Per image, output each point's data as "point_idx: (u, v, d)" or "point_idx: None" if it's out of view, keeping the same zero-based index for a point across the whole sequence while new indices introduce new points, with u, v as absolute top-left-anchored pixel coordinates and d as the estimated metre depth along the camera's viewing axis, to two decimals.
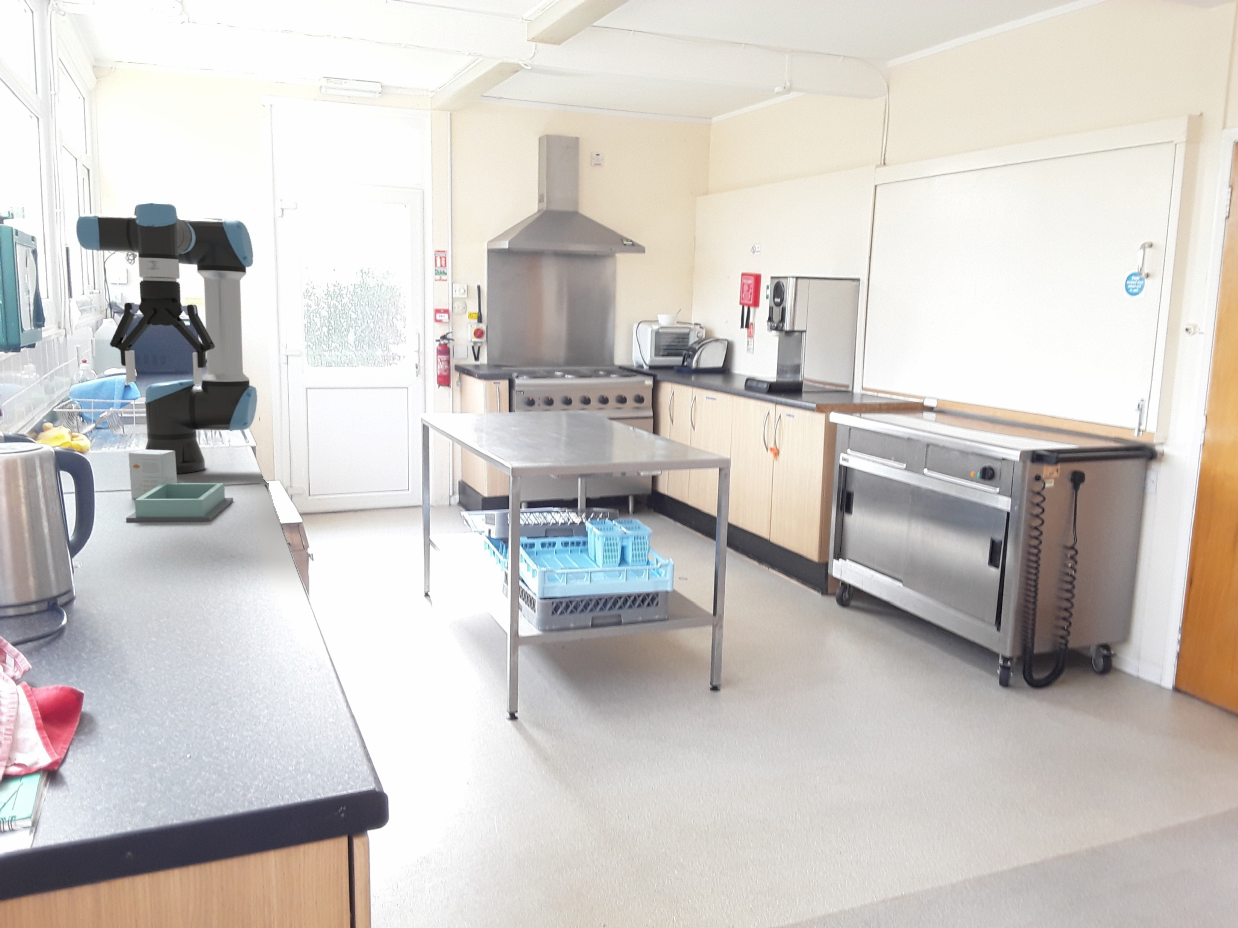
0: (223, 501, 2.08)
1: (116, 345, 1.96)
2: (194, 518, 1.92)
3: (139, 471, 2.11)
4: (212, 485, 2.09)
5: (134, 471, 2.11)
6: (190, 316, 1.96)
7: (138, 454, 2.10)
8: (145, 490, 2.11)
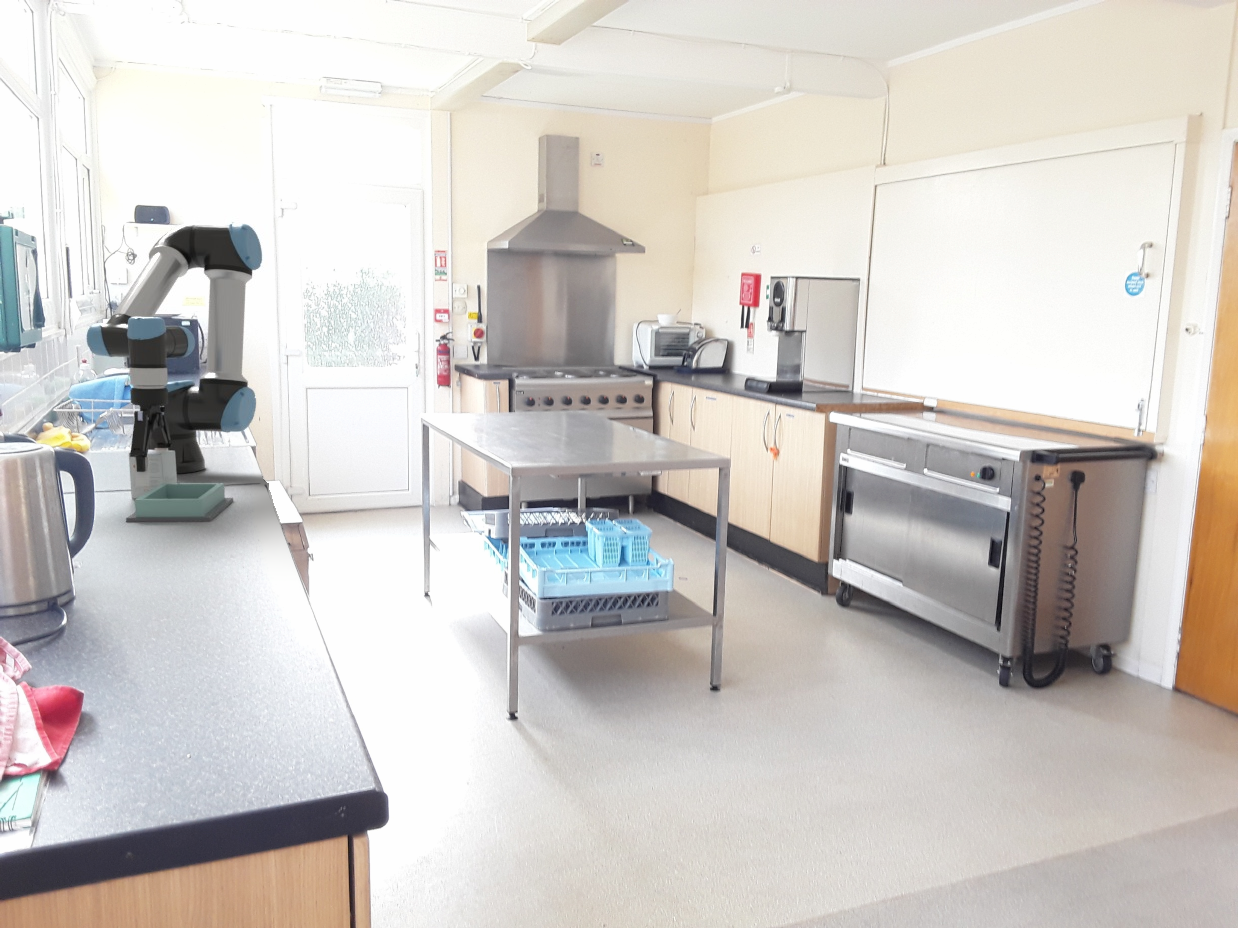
0: (223, 501, 2.08)
1: None
2: (194, 518, 1.92)
3: None
4: (212, 485, 2.09)
5: (134, 471, 2.11)
6: None
7: None
8: (145, 490, 2.11)
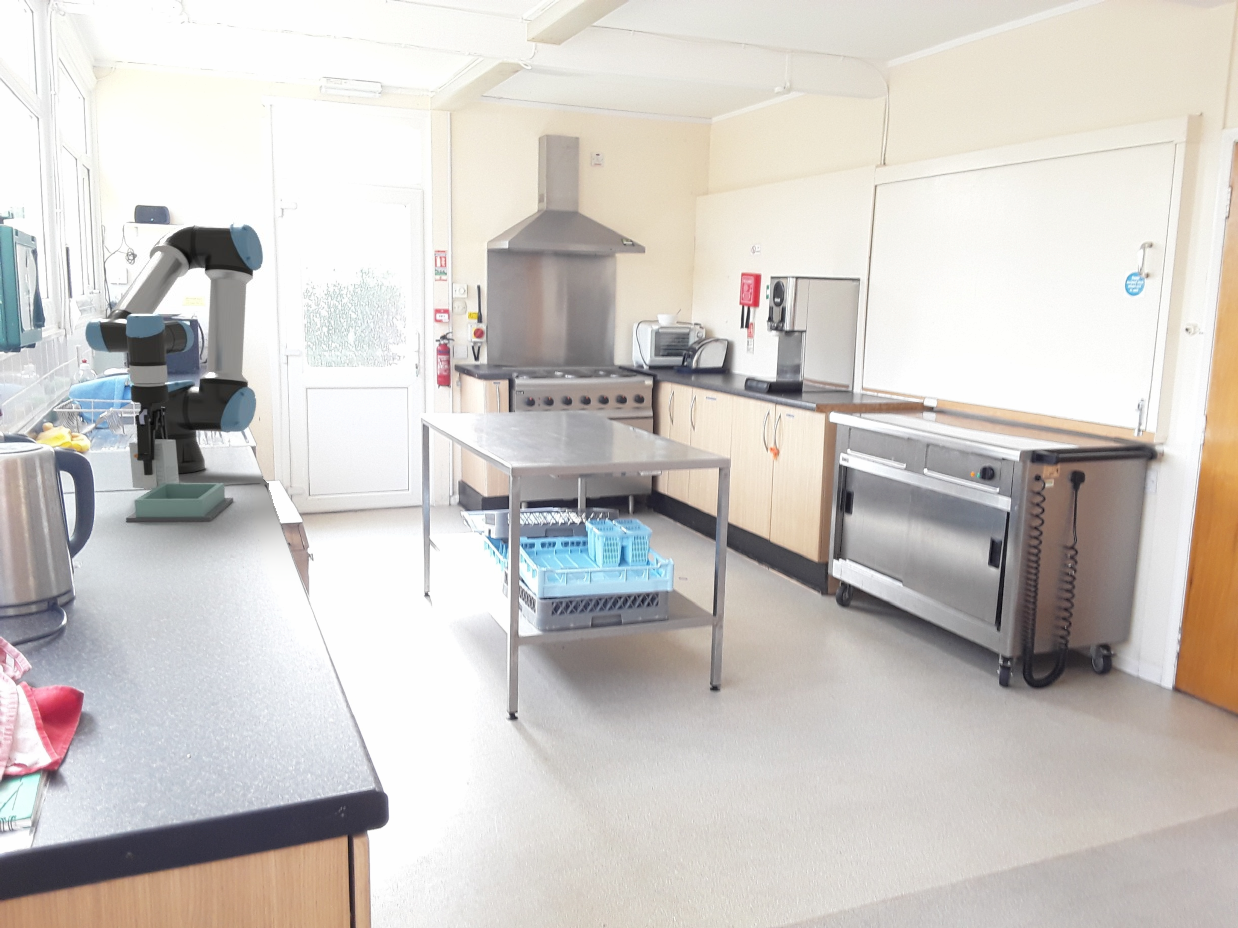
0: (223, 501, 2.08)
1: None
2: (194, 518, 1.92)
3: (140, 461, 2.11)
4: (212, 485, 2.09)
5: (135, 461, 2.11)
6: None
7: None
8: None
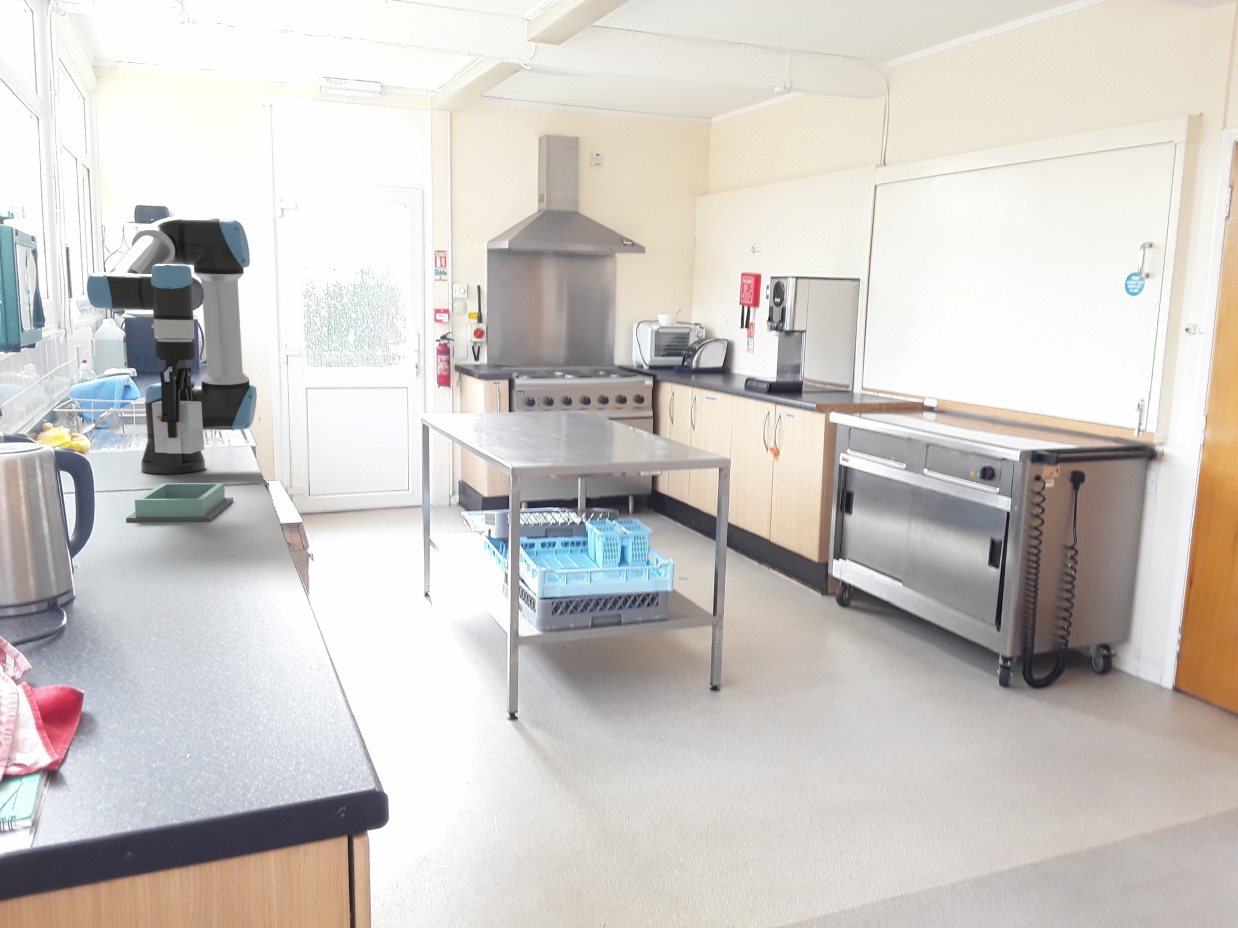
0: (223, 501, 2.08)
1: None
2: (194, 518, 1.92)
3: (163, 422, 1.96)
4: (212, 485, 2.09)
5: (158, 423, 1.96)
6: None
7: None
8: None
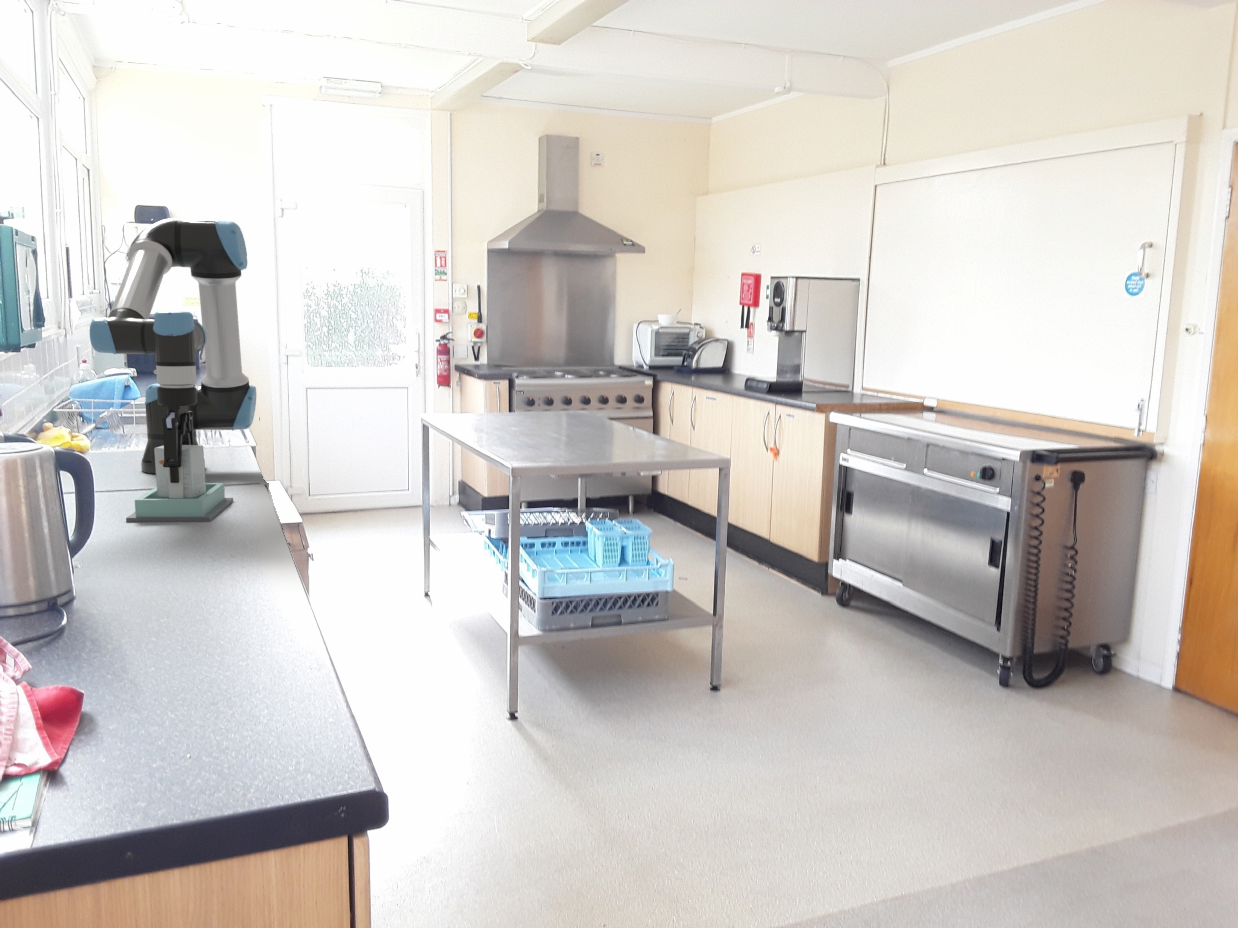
0: (223, 501, 2.08)
1: None
2: (194, 518, 1.92)
3: (165, 467, 1.97)
4: (212, 485, 2.09)
5: (160, 467, 1.97)
6: None
7: None
8: None
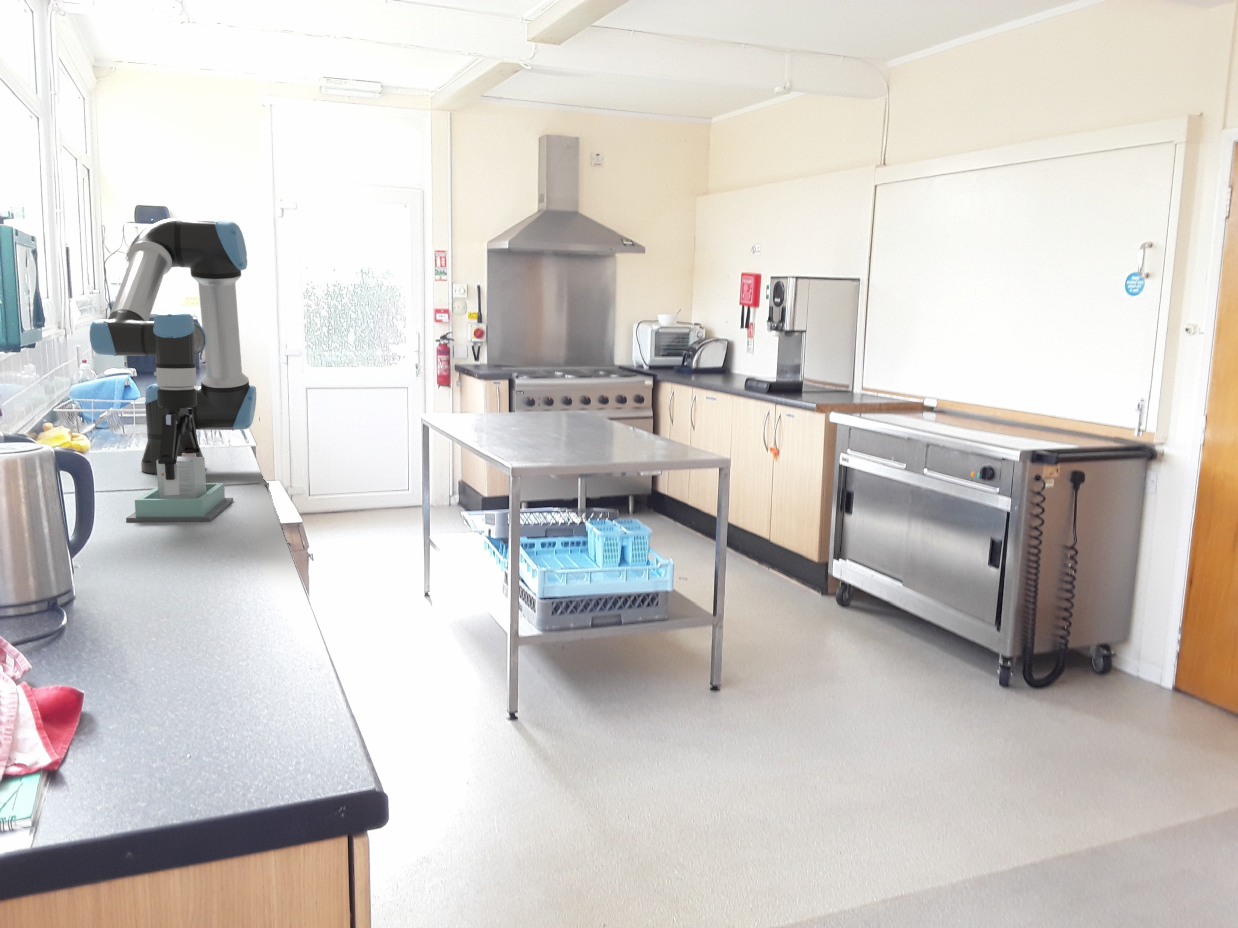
0: (223, 501, 2.08)
1: None
2: (194, 518, 1.92)
3: None
4: (212, 485, 2.09)
5: (162, 479, 1.98)
6: None
7: None
8: None
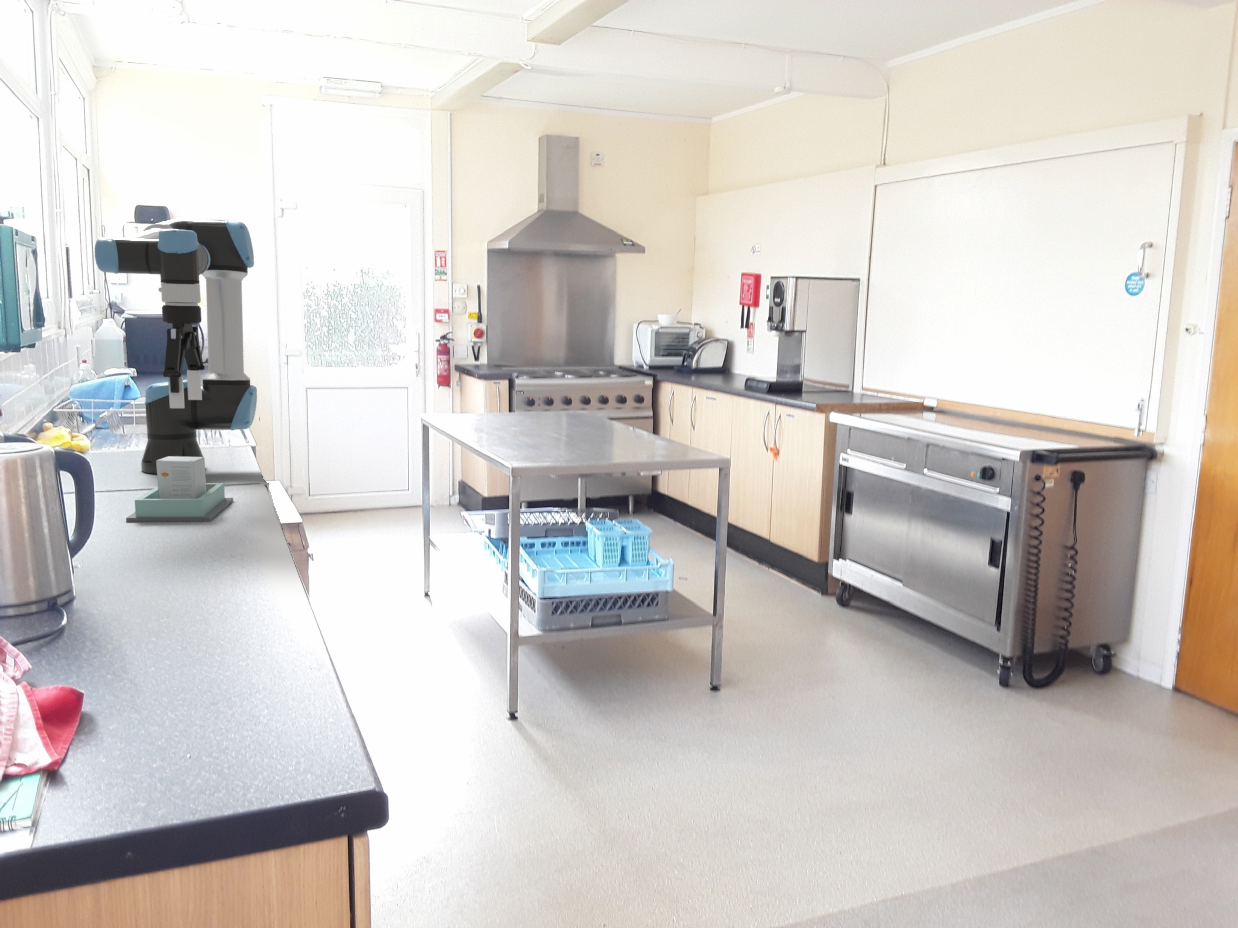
0: (223, 501, 2.08)
1: None
2: (194, 518, 1.92)
3: (168, 479, 1.98)
4: (212, 485, 2.09)
5: (162, 479, 1.98)
6: None
7: (167, 461, 1.97)
8: None
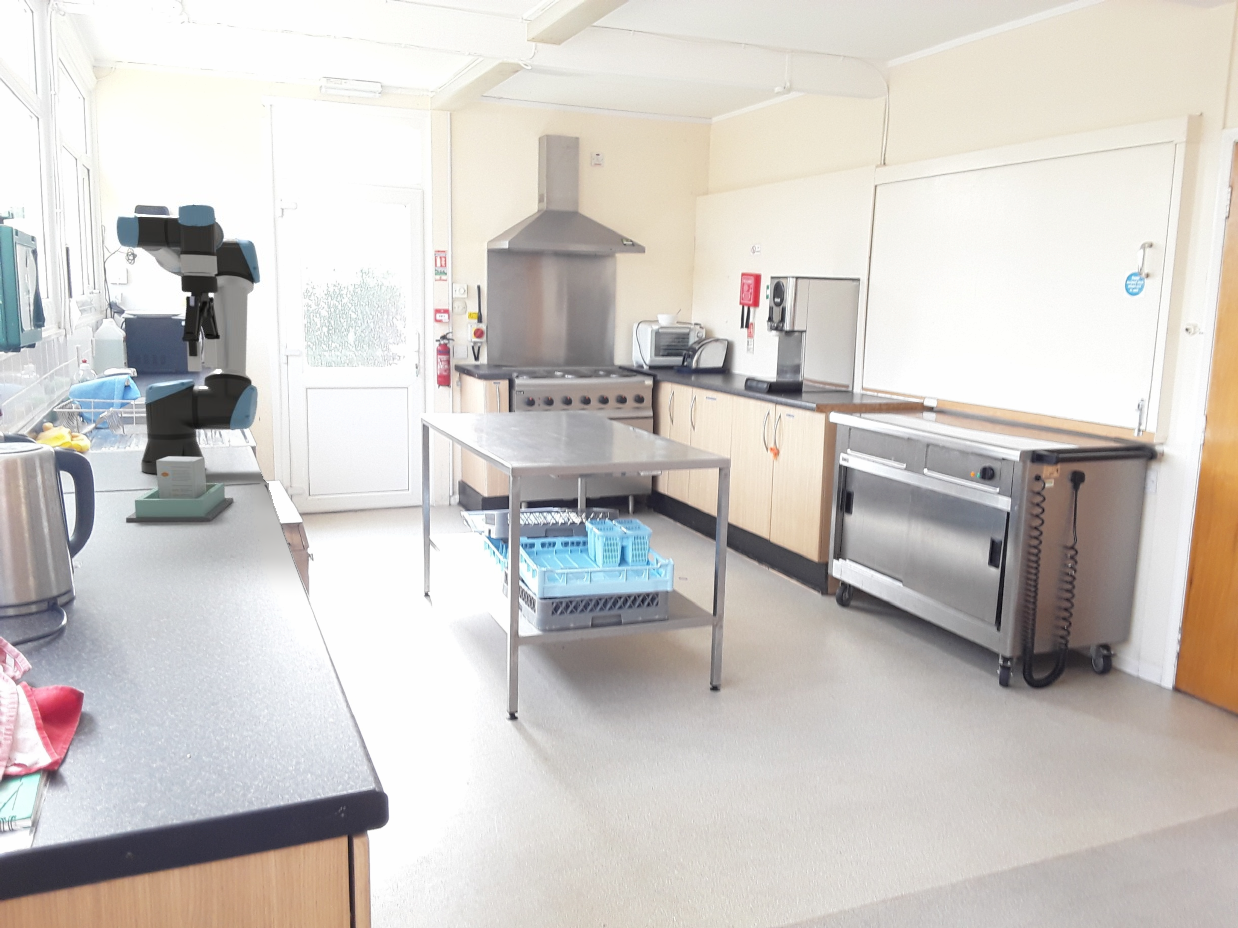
0: (223, 501, 2.08)
1: None
2: (194, 518, 1.92)
3: (168, 479, 1.98)
4: (212, 485, 2.09)
5: (162, 479, 1.98)
6: None
7: (167, 461, 1.97)
8: None
